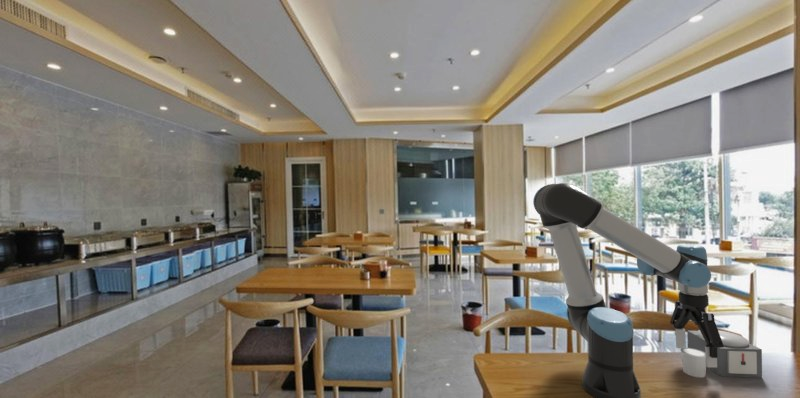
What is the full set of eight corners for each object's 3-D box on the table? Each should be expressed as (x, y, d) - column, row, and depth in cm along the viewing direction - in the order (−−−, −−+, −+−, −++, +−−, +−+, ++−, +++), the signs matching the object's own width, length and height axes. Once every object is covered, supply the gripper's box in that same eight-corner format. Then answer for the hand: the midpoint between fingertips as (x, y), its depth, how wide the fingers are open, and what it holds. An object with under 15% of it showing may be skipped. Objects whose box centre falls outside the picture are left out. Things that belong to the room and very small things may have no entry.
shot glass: (683, 375, 113) (683, 354, 113) (678, 366, 119) (678, 345, 119) (710, 380, 110) (710, 358, 110) (704, 370, 116) (703, 349, 116)
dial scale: (721, 377, 111) (721, 346, 111) (686, 354, 127) (685, 327, 127) (766, 379, 110) (766, 347, 110) (725, 356, 126) (724, 328, 125)
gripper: (738, 304, 101) (740, 376, 101) (679, 282, 126) (681, 341, 126) (710, 304, 102) (712, 376, 102) (657, 283, 127) (659, 340, 127)
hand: (695, 356), depth 114 cm, fingers open, 13 cm apart
